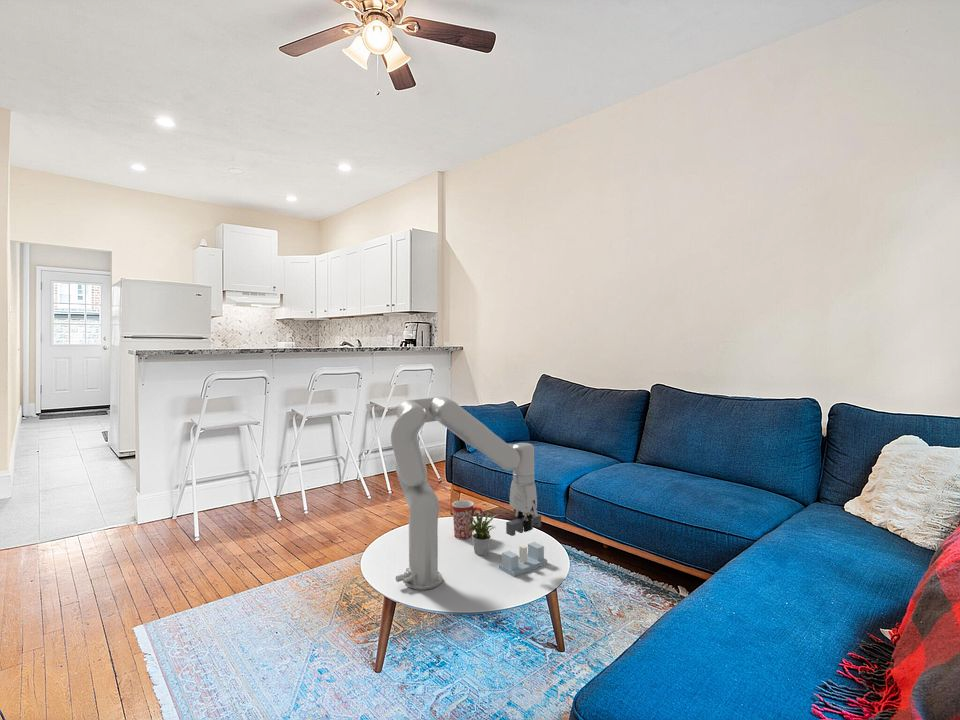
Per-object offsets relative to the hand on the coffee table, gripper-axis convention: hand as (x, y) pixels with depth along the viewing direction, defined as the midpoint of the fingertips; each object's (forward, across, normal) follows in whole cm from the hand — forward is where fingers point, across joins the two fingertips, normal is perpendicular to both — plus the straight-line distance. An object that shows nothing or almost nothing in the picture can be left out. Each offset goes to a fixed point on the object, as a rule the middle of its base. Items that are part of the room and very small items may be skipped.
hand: (523, 528), depth 178 cm
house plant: (+13, -19, -6) cm, 24 cm away
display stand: (+13, 0, 0) cm, 13 cm away
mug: (+13, -34, 0) cm, 37 cm away
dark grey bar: (0, 0, 0) cm, 0 cm away
